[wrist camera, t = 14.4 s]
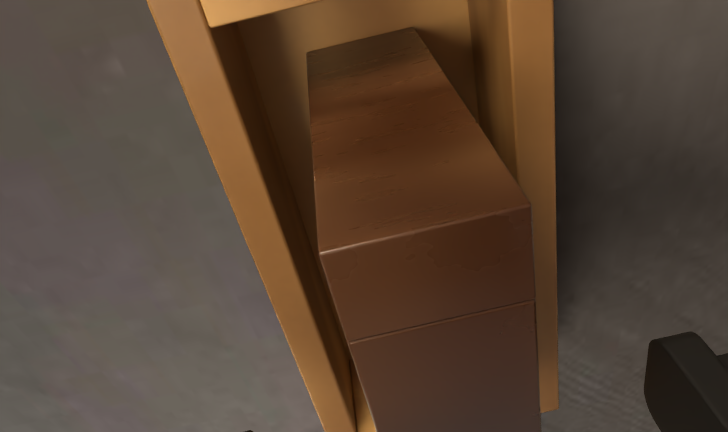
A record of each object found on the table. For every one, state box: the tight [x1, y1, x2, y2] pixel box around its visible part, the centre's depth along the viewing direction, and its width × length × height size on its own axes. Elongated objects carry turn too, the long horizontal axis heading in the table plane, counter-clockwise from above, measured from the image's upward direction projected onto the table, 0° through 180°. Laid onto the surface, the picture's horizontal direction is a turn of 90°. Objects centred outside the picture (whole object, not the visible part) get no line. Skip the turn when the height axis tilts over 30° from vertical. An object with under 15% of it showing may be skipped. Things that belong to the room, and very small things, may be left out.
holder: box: [146, 0, 559, 432], centre depth 17 cm, size 8×16×4 cm, turn 12°
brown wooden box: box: [306, 27, 541, 432], centre depth 14 cm, size 3×10×9 cm, turn 12°
